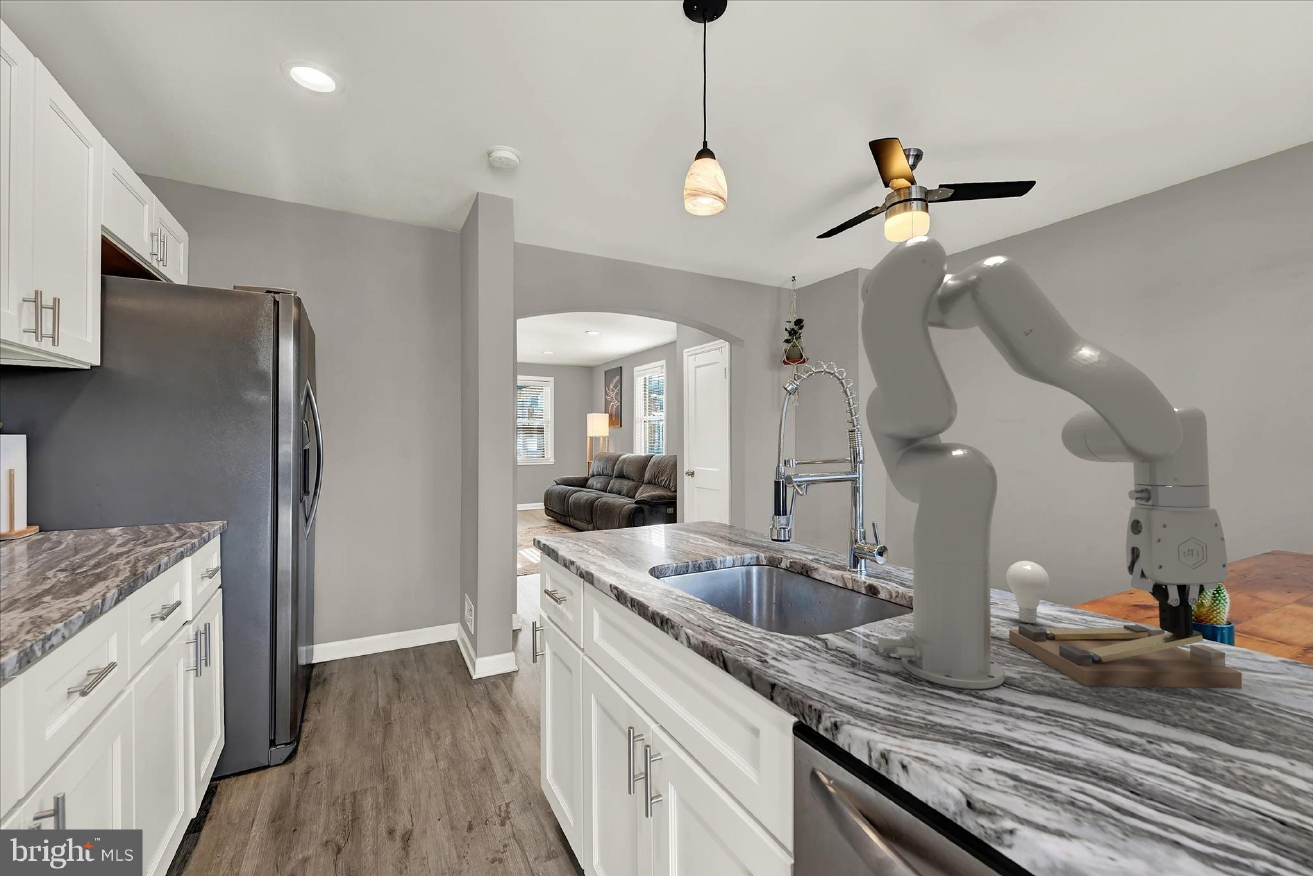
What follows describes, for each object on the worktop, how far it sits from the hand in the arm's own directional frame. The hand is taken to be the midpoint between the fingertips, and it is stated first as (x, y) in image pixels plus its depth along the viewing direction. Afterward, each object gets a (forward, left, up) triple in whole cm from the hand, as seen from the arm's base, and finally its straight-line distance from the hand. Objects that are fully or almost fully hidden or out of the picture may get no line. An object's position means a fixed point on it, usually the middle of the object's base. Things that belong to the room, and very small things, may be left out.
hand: (1176, 632), depth 75 cm
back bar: (-5, +9, -4) cm, 11 cm away
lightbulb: (-6, +22, -6) cm, 24 cm away
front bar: (-5, 0, -2) cm, 5 cm away
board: (-5, +5, -6) cm, 9 cm away
